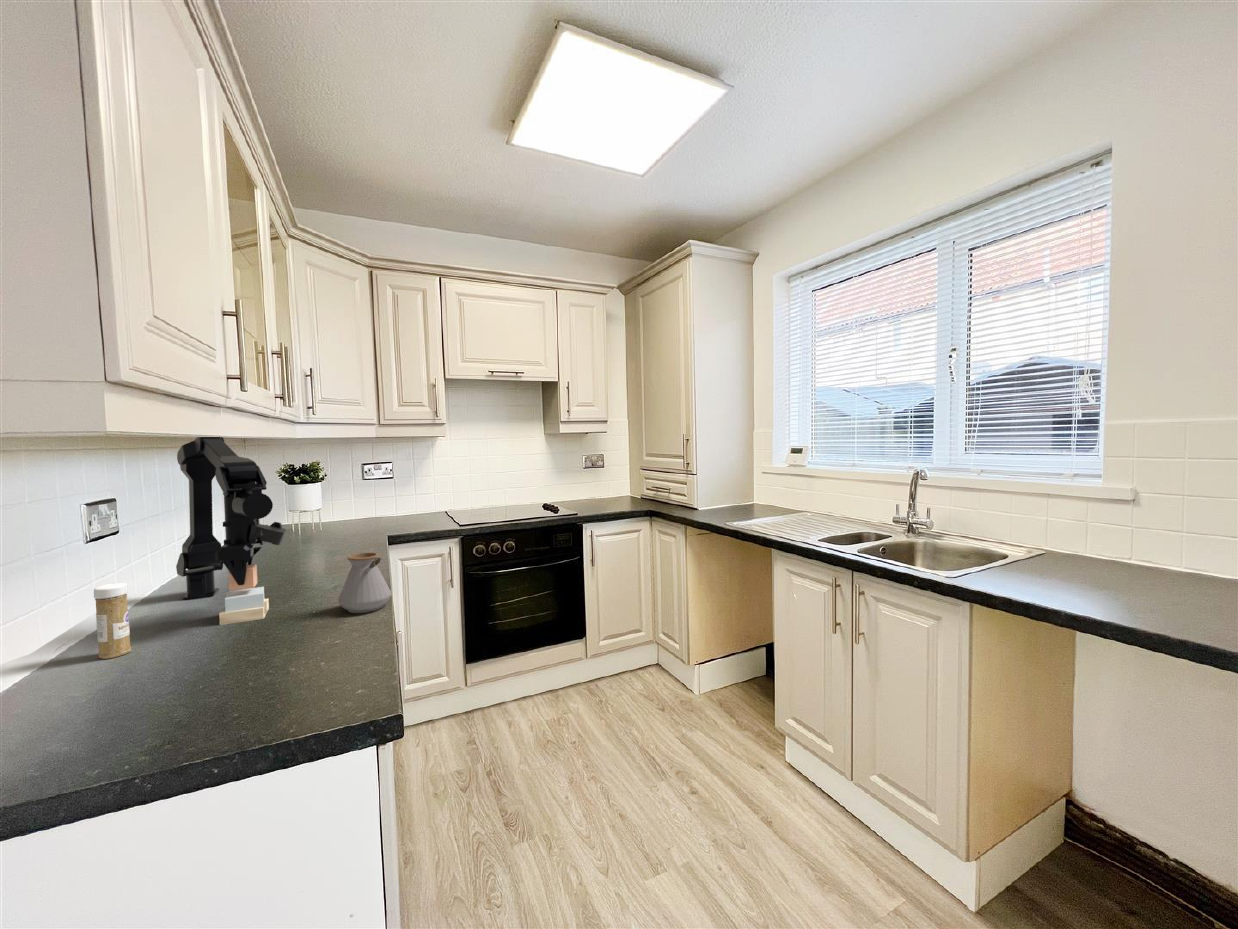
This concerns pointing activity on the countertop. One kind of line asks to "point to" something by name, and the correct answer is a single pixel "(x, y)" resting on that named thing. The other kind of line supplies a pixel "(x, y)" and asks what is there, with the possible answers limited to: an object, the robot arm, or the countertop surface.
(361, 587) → the coffee pot
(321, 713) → the countertop surface
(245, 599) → the grey-blue top slab
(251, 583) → the terracotta cube
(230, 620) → the oak base slab
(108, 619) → the sprinkles bottle
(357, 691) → the countertop surface
